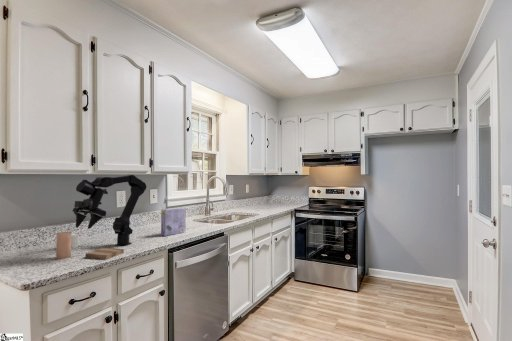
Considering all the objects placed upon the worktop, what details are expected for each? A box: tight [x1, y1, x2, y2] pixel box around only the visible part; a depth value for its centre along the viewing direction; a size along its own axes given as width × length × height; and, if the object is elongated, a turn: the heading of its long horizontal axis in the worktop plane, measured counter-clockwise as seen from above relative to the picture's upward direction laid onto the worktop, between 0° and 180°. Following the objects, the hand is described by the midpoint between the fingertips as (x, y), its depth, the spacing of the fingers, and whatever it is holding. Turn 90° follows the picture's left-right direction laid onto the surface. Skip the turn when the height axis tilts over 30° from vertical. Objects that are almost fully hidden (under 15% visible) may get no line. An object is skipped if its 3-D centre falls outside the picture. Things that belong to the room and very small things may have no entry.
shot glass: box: [71, 233, 80, 249], centre depth 161 cm, size 7×7×7 cm
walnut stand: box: [85, 247, 125, 260], centre depth 144 cm, size 12×12×2 cm
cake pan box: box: [160, 207, 187, 237], centre depth 199 cm, size 19×5×18 cm, turn 146°
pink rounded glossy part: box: [55, 231, 72, 260], centre depth 140 cm, size 6×6×12 cm
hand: (82, 227), depth 145 cm, fingers open, 9 cm apart
